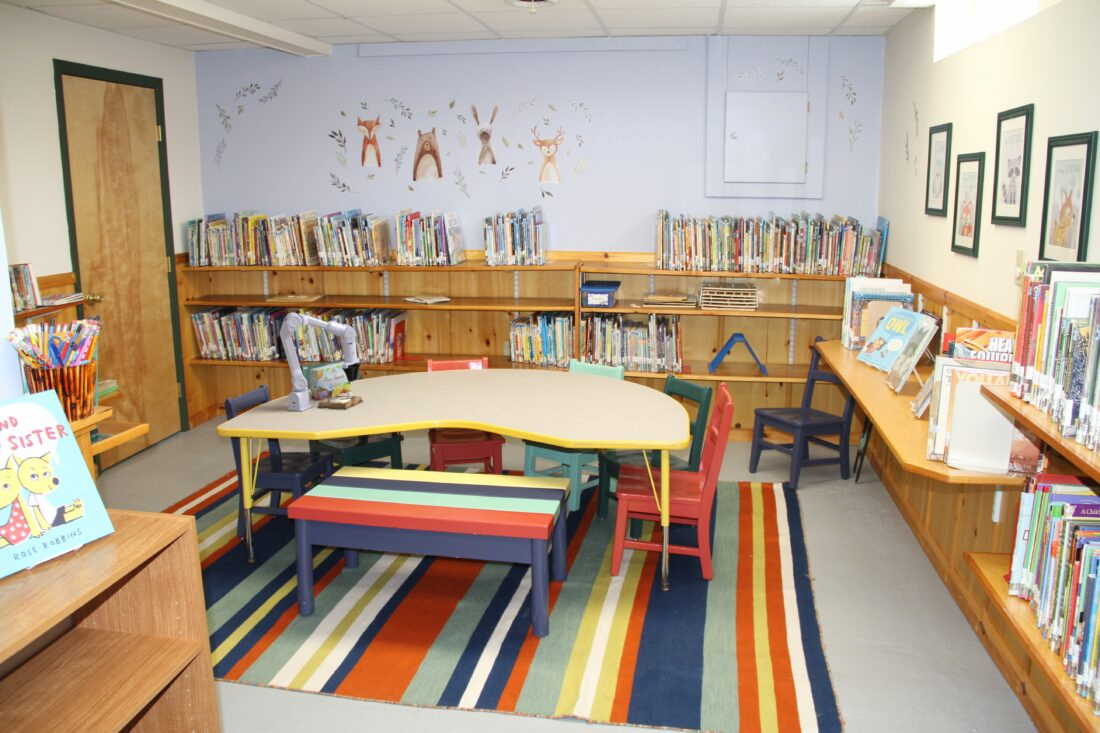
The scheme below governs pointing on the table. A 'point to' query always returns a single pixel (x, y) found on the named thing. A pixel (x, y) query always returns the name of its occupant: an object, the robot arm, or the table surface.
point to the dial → (342, 398)
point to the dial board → (344, 406)
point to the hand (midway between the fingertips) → (352, 380)
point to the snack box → (328, 381)
